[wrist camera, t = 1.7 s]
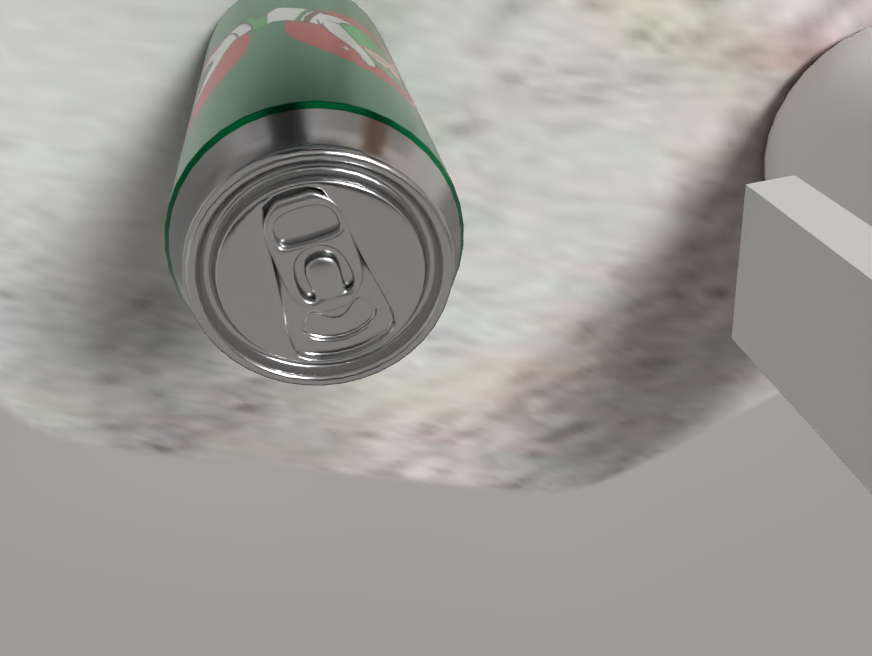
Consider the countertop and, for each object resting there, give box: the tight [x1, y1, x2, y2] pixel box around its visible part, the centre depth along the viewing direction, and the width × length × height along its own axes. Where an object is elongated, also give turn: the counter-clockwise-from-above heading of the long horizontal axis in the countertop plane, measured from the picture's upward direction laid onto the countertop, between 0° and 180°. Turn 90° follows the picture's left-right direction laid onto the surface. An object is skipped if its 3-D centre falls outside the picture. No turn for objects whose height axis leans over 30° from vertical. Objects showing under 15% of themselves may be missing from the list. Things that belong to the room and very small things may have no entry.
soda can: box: [165, 0, 464, 385], centre depth 18 cm, size 5×5×12 cm
